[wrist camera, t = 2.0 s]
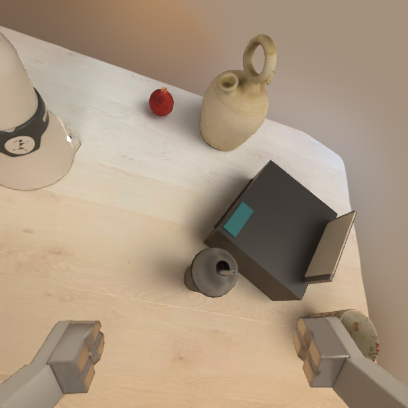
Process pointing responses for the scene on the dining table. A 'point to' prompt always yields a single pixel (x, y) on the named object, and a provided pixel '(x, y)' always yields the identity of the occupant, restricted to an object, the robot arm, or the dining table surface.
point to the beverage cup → (212, 273)
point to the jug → (238, 99)
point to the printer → (281, 235)
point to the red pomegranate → (161, 102)
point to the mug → (357, 330)
